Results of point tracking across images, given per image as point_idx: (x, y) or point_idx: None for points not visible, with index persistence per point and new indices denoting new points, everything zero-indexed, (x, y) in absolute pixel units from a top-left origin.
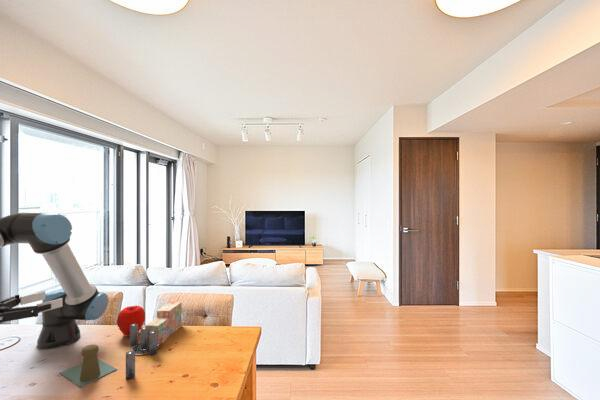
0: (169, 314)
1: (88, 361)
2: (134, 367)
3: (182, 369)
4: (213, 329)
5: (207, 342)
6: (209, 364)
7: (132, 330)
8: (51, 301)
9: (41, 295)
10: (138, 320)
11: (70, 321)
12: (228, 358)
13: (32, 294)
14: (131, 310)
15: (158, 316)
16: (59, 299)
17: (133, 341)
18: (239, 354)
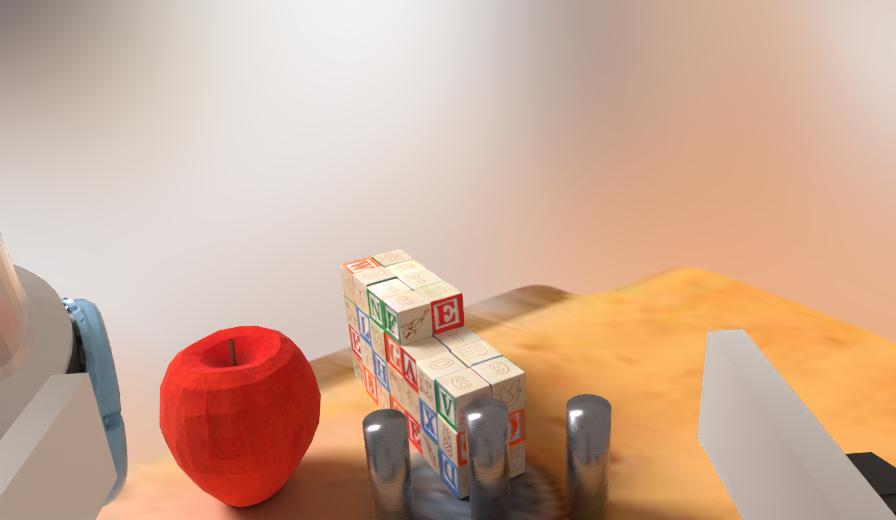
0: (461, 310)
1: None
2: None
3: None
4: (571, 322)
5: (672, 368)
6: (891, 431)
7: (399, 453)
8: (805, 414)
9: (78, 448)
10: (318, 397)
11: None
12: (883, 382)
13: (6, 487)
14: (235, 361)
15: (409, 339)
16: (759, 351)
17: (409, 506)
18: (874, 355)
